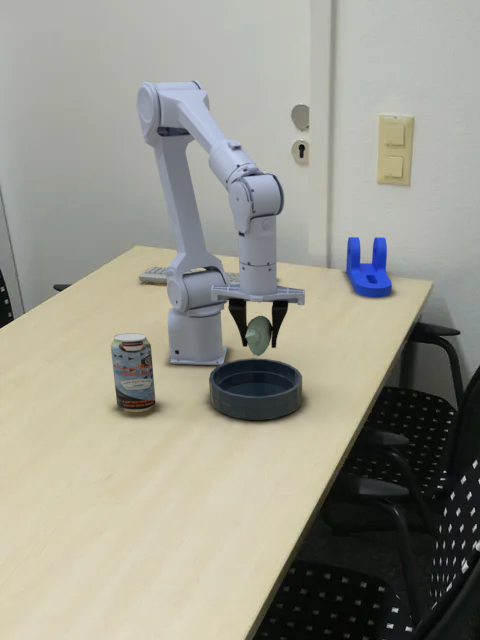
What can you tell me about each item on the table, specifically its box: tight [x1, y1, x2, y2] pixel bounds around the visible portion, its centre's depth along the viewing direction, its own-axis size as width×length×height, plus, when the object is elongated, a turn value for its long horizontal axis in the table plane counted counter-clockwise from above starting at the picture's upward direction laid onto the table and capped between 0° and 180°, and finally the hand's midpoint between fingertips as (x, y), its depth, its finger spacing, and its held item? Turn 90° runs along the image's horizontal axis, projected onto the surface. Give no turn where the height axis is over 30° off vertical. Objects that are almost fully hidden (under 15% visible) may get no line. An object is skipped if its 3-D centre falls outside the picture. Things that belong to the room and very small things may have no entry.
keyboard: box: [138, 266, 240, 285], centre depth 177 cm, size 29×10×2 cm, turn 86°
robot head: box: [245, 315, 272, 357], centre depth 126 cm, size 8×4×7 cm, turn 173°
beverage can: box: [110, 332, 157, 413], centre depth 123 cm, size 6×7×12 cm
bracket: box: [345, 236, 392, 298], centre depth 179 cm, size 18×8×9 cm, turn 9°
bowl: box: [208, 357, 303, 421], centre depth 130 cm, size 15×15×4 cm
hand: (259, 345), depth 127 cm, fingers closed on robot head, 4 cm apart
